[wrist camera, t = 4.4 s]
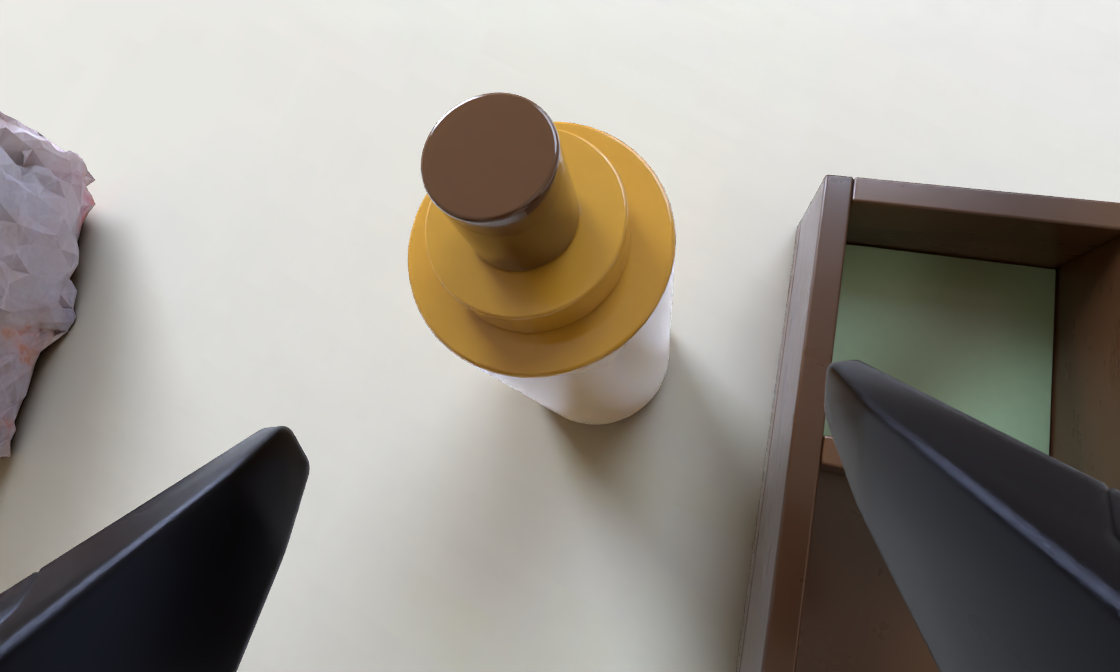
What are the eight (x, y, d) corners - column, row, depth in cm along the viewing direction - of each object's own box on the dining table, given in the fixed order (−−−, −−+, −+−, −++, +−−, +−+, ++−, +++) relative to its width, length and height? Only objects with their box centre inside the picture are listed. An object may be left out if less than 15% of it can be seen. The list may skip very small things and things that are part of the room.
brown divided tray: (730, 714, 17) (747, 777, 13) (797, 225, 20) (825, 173, 16) (1053, 813, 15) (1172, 917, 11) (1070, 257, 18) (1167, 206, 15)
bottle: (691, 312, 20) (741, 41, 7) (635, 449, 19) (583, 401, 7) (560, 264, 21) (414, -35, 9) (502, 390, 20) (252, 258, 8)
